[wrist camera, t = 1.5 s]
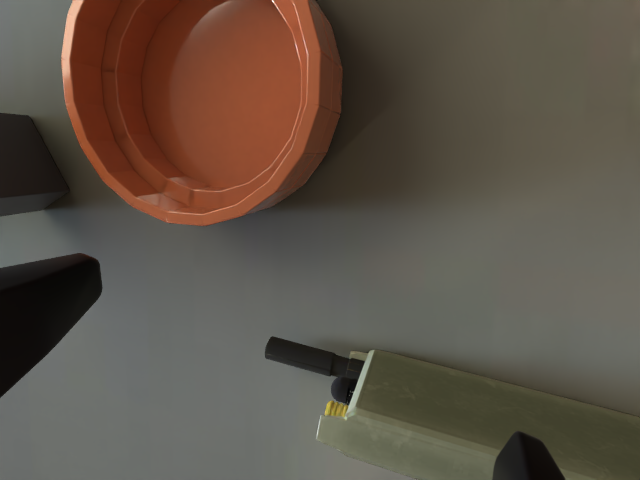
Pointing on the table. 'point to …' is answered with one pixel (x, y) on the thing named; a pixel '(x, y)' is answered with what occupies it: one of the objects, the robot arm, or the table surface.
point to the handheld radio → (456, 418)
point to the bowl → (202, 100)
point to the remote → (26, 168)
